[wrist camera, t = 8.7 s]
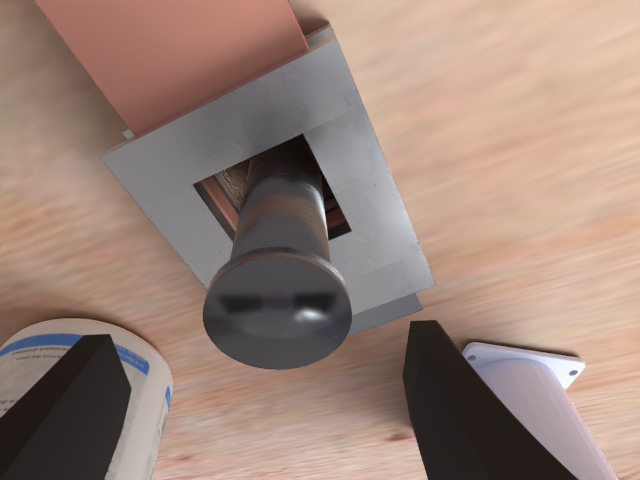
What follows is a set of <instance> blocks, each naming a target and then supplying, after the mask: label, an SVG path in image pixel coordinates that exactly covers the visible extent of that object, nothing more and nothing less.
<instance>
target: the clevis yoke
mask: <svg viewBox="0 0 640 480" xmlns="http://www.w3.org/2000/svg"><path fill="white" fill-rule="evenodd" d="M304 37H305V40H306V42H307V44H308V46H309V48H307V49H305V50H303V51H301V52H299V53H297V54H295V55H293V56H291V57H289V58H287V59H285V60H283V61H281V62H279V63H277V64H275V65H273V66H271V67H269V68H267V69H265V70H263V71H261V72H259V73H257V74H255V75H253V76H251V77H249V78H247V79H245V80H243V81H241V82H239V83H237V84H235V85H233V86H232V87H230V88H228V89H226V90H224V91H222V92H220V93H218V94H216V95H214V96H212V97H210V98H208V99H206V100H204V101H202V102H200V103H198V104H196V105H194V106H192V107H190V108H188V109H186V110H184V111H182V112H180V113H178V114H176V115H174V116H172V117H170V118H168V119H166V120H164V121H162V122H160V123H158V124H156V125H154V126H152V127H150V128H148V129H146V130H144V131H142V132H140V133H138V134H136V135H135V136H134V135H133V134H132V132H131V131H130V130H129V128H128V127H127V128H126V129H125V130H124V132H123V135H124V136H125V137H126V139H127V140H125V141H123V142H121V143H119V144H117V145H115V146H113V147H111V148H109V149H107V151H106V152H105V153H104V154H103V155H102V156H101V157H100V159H101V160H102V161H103V162H104V164H105V165H106V166H107V167H108V169H109V170H110V171H111V172H112V174H113V175H114V176H115V177H116V178H117V180H118V181H119V182H120V183H121V185H122V186H123V187H124V188H125V190H126V191H127V192H128V193H129V194H130V196H131V197H132V198H133V199H134V201H135V202H136V203H137V204H138V206H139V207H140V208H141V209H142V210H143V212H144V213H145V214H146V215H147V217H148V218H149V219H150V220H151V222H152V223H153V224H154V225H155V226H156V228H157V229H158V230H159V231H160V233H161V234H162V235H163V236H164V238H165V239H166V240H167V241H168V242H169V244H170V245H171V246H172V247H173V249H174V250H175V251H176V252H177V253H178V255H179V256H180V257H181V258H182V260H183V261H184V262H185V263H186V265H187V266H188V267H189V268H190V269H191V271H192V272H193V273H194V274H195V276H196V277H197V278H198V279H199V281H200V282H201V283H202V284H203V285H204V287H205V288H206V289H207V290H208V288H209V285H210V282H211V280H212V279H213V277H214V275H215V274H216V273H217V271H218V270H219V269H220V268H221V267H222V266H223V265H224V264H226V263H227V262H228V261H230V257H231V252H232V247H233V242H234V237H235V231H234V229H233V228H232V226H231V225H230V224H229V222H228V221H227V219H226V218H225V216H224V215H223V213H222V212H221V211H220V209H219V208H218V206H217V205H216V203H215V202H214V200H213V199H212V198H211V196H210V195H209V193H208V192H207V190H206V189H205V187H204V186H203V185H202V183H201V182H200V181H201V180H203V179H205V178H207V177H209V176H212V177H213V178H214V180H215V181H216V183H217V184H218V186H219V187H220V189H221V190H222V192H223V193H224V195H225V196H226V198H227V199H228V201H229V202H230V204H231V205H232V207H233V208H234V210H235V211H236V213H237V214H238V216H239V212H240V208H241V202H240V201H239V199H238V198H237V196H236V195H235V193H234V192H233V190H232V189H231V187H230V186H229V184H228V182H227V181H226V179H225V178H224V176H223V175H222V173H221V172H220V171H222V170H225V169H227V168H229V167H231V166H233V165H235V164H237V163H240V162H242V161H244V160H246V159H248V158H250V157H253V156H255V155H257V154H259V153H261V152H263V151H265V150H268V149H270V148H272V147H274V146H276V145H278V144H281V143H283V142H285V141H287V140H289V139H291V138H294V137H296V136H298V135H300V134H302V133H303V134H304V136H305V138H306V140H307V142H308V144H309V146H310V148H311V150H312V152H313V154H314V156H315V158H316V160H317V162H318V164H319V166H320V168H321V170H322V172H323V174H324V176H325V178H326V180H327V182H328V184H329V186H330V188H331V190H332V192H333V194H334V196H335V197H334V198H332V199H330V200H327V201H325V202H324V207H325V214H327V213H329V212H332V211H334V210H336V209H339V208H341V210H342V212H343V214H344V216H345V218H346V220H347V222H346V223H343V224H341V225H338V226H336V227H334V228H331V229H329V230H327V234H328V243H329V252H330V261H331V265H333V266H334V267H335V268H336V269H337V270H338V272H339V273H340V274H341V276H342V277H343V279H344V280H345V282H346V284H347V287H348V290H349V296H350V303H351V309H352V323H351V327H350V330H349V332H348V335H347V336H350V335H353V334H356V333H359V332H361V331H364V330H367V329H370V328H373V327H376V326H378V325H381V324H384V323H387V322H390V321H393V320H395V319H398V318H401V317H404V316H407V315H410V314H412V313H415V312H418V311H421V310H423V307H422V305H421V302H420V299H419V296H418V293H417V292H418V291H420V290H423V289H426V288H429V287H431V286H434V285H436V283H435V281H434V278H433V276H432V273H431V271H430V268H429V266H428V263H427V261H426V258H425V256H424V253H423V251H422V249H421V246H420V244H419V241H418V239H417V236H416V234H415V231H414V229H413V226H412V224H411V221H410V219H409V216H408V214H407V211H406V209H405V206H404V204H403V201H402V199H401V196H400V194H399V191H398V189H397V187H396V184H395V182H394V179H393V177H392V174H391V172H390V169H389V167H388V164H387V162H386V159H385V157H384V154H383V152H382V149H381V147H380V144H379V142H378V139H377V137H376V134H375V132H374V129H373V127H372V125H371V122H370V120H369V117H368V115H367V112H366V110H365V107H364V105H363V102H362V100H361V97H360V95H359V92H358V90H357V87H356V85H355V82H354V80H353V77H352V75H351V72H350V70H349V67H348V65H347V63H346V60H345V58H344V55H343V53H342V50H341V48H340V45H339V43H338V40H337V38H336V35H335V34H334V31H333V29H332V26H331V24H330V23H328V24H327V25H325V26H323V27H321V28H319V29H317V30H315V31H313V32H311V33H309V34H307V35H305V36H304ZM347 336H346V337H347Z"/></svg>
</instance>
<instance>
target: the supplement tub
mask: <svg viewBox="0 0 640 480" xmlns="http://www.w3.org/2000/svg"><path fill="white" fill-rule="evenodd" d="M94 334H110V335H111V337H112V340H113V343H114V345H115V348H116V350H117V353H118V355H119V358H120V360H121V363H122V365H123V368H124V370H125V373H126V375H127V378H128V380H129V383H130V385H131V388H132V391H131V395H130V400H129V404H128V409H127V413H126V417H125V421H124V425H123V429H122V432H121V435H120V438H119V441H118V444H117V446H116V449H115V452H114V455H113V457H112V460H111V463H110V466H109V468H108V471H107V474H106V476H105V479H104V480H151V478H152V474H153V470H154V466H155V462H156V458H157V454H158V450H159V446H160V442H161V438H162V434H163V430H164V426H165V422H166V418H167V414H168V410H169V406H170V401H171V397H172V392H173V378H172V374H171V371H170V368H169V366H168V364H167V363H166V361H165V359H164V358H163V357H162V356H161V354H160V353H159V352H158V351H157V350H156V349H155V348H154V347H153V346H152V345H150V344H149V343H148V342H146V341H145V340H143V339H142V338H140V337H138V336H136V335H135V334H133V333H131V332H129V331H127V330H125V329H123V328H121V327H118V326H116V325H112V324H109V323H106V322H101V321H97V320H91V319H81V318H62V319H53V320H48V321H43V322H39V323H36V324H33V325H31V326H28V327H26V328H24V329H22V330H20V331H19V332H17V333H16V334H14V335H13V336H12V337H10V338H9V339H8V340H7V341H6V342H5V343H4V344H3V346H2V347H1V348H0V417H2V416H3V415H4V414H5V413H6V412H7V411H8V410H9V409H10V408H11V407H12V406H13V405H14V404H15V403H16V402H17V401H18V400H19V399H20V398H21V397H22V396H23V395H24V394H25V393H26V392H27V391H28V390H29V389H30V388H31V387H32V386H33V385H34V384H35V383H36V382H37V381H38V380H39V379H40V378H41V377H42V376H43V375H44V374H45V373H46V372H47V371H48V370H49V369H50V368H51V367H52V366H53V365H54V364H55V363H56V362H57V361H58V360H59V359H60V358H61V357H62V356H63V355H64V354H65V353H66V352H67V351H68V350H69V349H70V348H71V347H72V346H73V345H74V344H75V343H76V342H77V341H78V340H79V339H80V338H81V337H83V336H84V335H94Z"/></svg>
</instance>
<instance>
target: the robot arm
mask: <svg viewBox="0 0 640 480" xmlns="http://www.w3.org/2000/svg"><path fill="white" fill-rule="evenodd" d="M585 366H586V364H585V362H584V361H583V360H582V359H581V358H577V357H570V356H564V355H557V354H551V353H544V352H538V351H531V350H524V349H518V348H511V347H505V346H498V345H491V344H485V343H478V342H472V343H470V344H468V345H467V346H466V347H465V349H464V350H463V352H462V353H461V352H460V351H459V349H458V348H457V347H456V345H455V344H454V343H453V341H452V340H451V339H450V337H449V336H448V335H447V333H446V332H445V331H444V329H443V328H442V327H441V325H440V324H439V323H438V322H437V321H436V320H427V321H411V323H410V329H409V336H408V343H407V350H406V357H405V364H404V371H403V381H404V387H405V393H406V399H407V404H408V410H409V415H410V419H411V423H412V426H413V432H414V436H415V437H416V440H417V443H418V447H419V450H420V454H421V457H422V460H423V464H424V467H425V470H426V474H427V477H428V480H619V479H618V478H617V476H616V474H615V473H614V471H613V469H612V468H611V466H610V464H609V463H608V461H607V459H606V458H605V456H604V454H603V453H602V451H601V450H600V448H599V446H598V445H597V443H596V441H595V440H594V438H593V436H592V435H591V433H590V431H589V430H588V428H587V426H586V425H585V423H584V421H583V420H582V418H581V416H580V415H579V413H578V411H577V410H576V408H575V406H574V405H573V403H572V401H571V400H570V398H569V396H568V395H567V393H566V391H565V390H566V389H567V388H568V386H569V385H570V384H571V383H572V382H573V381H574V380H575V378H576V377H577V376H578V375H579V374H580V373H581V372H582V370H583V369H584V368H585ZM131 391H132V388H131V385H130V383H129V380H128V378H127V375H126V373H125V370H124V368H123V365H122V363H121V360H120V358H119V355H118V353H117V350H116V348H115V345H114V343H113V340H112V337H111V335H110V334H94V335H84V336H83V337H81V338H80V339H79V340H78V341H77V342H76V343H75V344H74V345H73V346H72V347H71V348H70V349H69V350H68V351H67V352H66V353H65V354H64V355H63V356H62V357H61V358H60V359H59V360H58V361H57V362H56V363H55V364H54V365H53V366H52V367H51V368H50V369H49V370H48V371H47V372H46V373H45V374H44V375H43V376H42V377H41V378H40V379H39V380H38V381H37V382H36V383H35V384H34V385H33V386H32V387H31V388H30V389H29V390H28V391H27V392H26V393H25V394H24V395H23V396H22V397H21V398H20V399H19V400H18V401H17V402H16V403H15V404H14V405H13V406H12V407H11V408H10V409H9V410H8V411H7V412H6V413H5V414H4V415H3V416H2V417H0V480H104V479H105V476H106V474H107V471H108V468H109V466H110V463H111V460H112V457H113V455H114V452H115V449H116V446H117V444H118V441H119V438H120V435H121V432H122V429H123V425H124V421H125V417H126V413H127V409H128V404H129V400H130V395H131Z"/></svg>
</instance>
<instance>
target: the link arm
mask: <svg viewBox="0 0 640 480" xmlns="http://www.w3.org/2000/svg"><path fill="white" fill-rule="evenodd" d="M34 1H35V2H36V4H37V5H38V7H39V8H40V9H41V11H42V12H43V13H44V15H45V16H46V17H47V19H48V20H49V21H50V23H51V24H52V25H53V27H54V28H55V30H56V31H57V32H58V34H59V35H60V36H61V38H62V39H63V40H64V42H65V43H66V44H67V46H68V47H69V48H70V50H71V51H72V52H73V54H74V55H75V57H76V58H77V59H78V61H79V62H80V63H81V65H82V66H83V67H84V69H85V70H86V71H87V73H88V74H89V75H90V77H91V78H92V80H93V81H94V82H95V84H96V85H97V86H98V88H99V89H100V90H101V92H102V93H103V94H104V96H105V97H106V98H107V100H108V101H109V102H110V104H111V105H112V107H113V108H114V109H115V111H116V112H117V113H118V115H119V116H120V117H121V119H122V120H123V121H124V123H125V124H126V125H127V127H128V128H129V130H130V131H131V132H132V134H133V135H134V136H135V135H136V134H138V133H140V132H142V131H144V130H146V129H148V128H150V127H152V126H154V125H156V124H158V123H160V122H162V121H164V120H166V119H168V118H170V117H172V116H174V115H176V114H178V113H180V112H182V111H184V110H186V109H188V108H190V107H192V106H194V105H196V104H198V103H200V102H202V101H204V100H206V99H208V98H210V97H212V96H214V95H216V94H218V93H220V92H222V91H224V90H226V89H228V88H230V87H232V86H233V85H235V84H237V83H239V82H241V81H243V80H245V79H247V78H249V77H251V76H253V75H255V74H257V73H259V72H261V71H263V70H265V69H267V68H269V67H271V66H273V65H275V64H277V63H279V62H281V61H283V60H285V59H287V58H289V57H291V56H293V55H295V54H297V53H299V52H301V51H303V50H305V49H307V48H309V46H308V44H307V42H306V40H305V37H304V35H303V33H302V31H301V28H300V26H299V24H298V21H297V19H296V17H295V15H294V12H293V10H292V8H291V6H290V3H289V1H288V0H34ZM200 182H201V183H202V185H203V186H204V187H205V189H206V190H207V192H208V193H209V195H210V196H211V198H212V199H213V200H214V202H215V203H216V205H217V206H218V208H219V209H220V211H221V212H222V213H223V215H224V216H225V218H226V219H227V221H228V222H229V224H230V225H231V226H232V228H233V229H234V231H235V232H236V227H237V222H238V217H239V216H238V214H237V213H236V211H235V210H234V208H233V207H232V205H231V204H230V202H229V201H228V199H227V198H226V196H225V195H224V193H223V192H222V190H221V189H220V187H219V186H218V184H217V183H216V181H215V180H214V178H213V177H212V176H209V177H207V178H205V179H203V180H201V181H200ZM325 216H326V225H327V230H329V229H331V228H334V227H336V226H338V225H341V224H343V223H346V222H347V220H346V218H345V216H344V214H343V212H342V210H341V208H339V209H336V210H334V211H332V212H329V213H327V214H325Z"/></svg>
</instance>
